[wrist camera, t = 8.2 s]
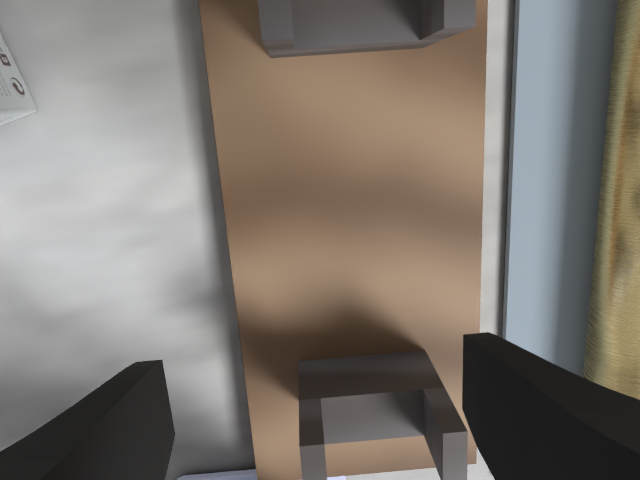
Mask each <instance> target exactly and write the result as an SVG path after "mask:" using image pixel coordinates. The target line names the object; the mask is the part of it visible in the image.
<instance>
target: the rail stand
mask: <svg viewBox="0 0 640 480" xmlns="http://www.w3.org/2000/svg"><path fill="white" fill-rule="evenodd" d="M198 2H199V10H200V18H201V26H202V34H203V43H204V51H205V59H206V67H207V75H208V83H209V91H210V99H211V107H212V115H213V124H214V132H215V140H216V148H217V156H218V164H219V172H220V180H221V188H222V197H223V205H224V213H225V221H226V229H227V237H228V245H229V253H230V261H231V269H232V278H233V286H234V294H235V302H236V310H237V318H238V326H239V334H240V342H241V351H242V359H243V367H244V375H245V383H246V391H247V399H248V407H249V415H250V424H251V432H252V440H253V448H254V456H255V464H256V472H257V480H327V477H337V476H348V475H358V474H369V473H380V472H391V471H402V470H413V469H424V468H434V467H436V468H437V471H438V474H439V476H440V479H441V480H467V464H476V450H477V446H476V443H475V441H474V438H473V436H472V433H471V431H470V428H469V426H468V423H467V420H466V418H465V415H464V412H463V410H462V379H463V334H475V333H479V329H480V288H481V248H482V208H483V167H484V127H485V87H486V47H487V6H488V0H198Z"/></svg>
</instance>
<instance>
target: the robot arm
mask: <svg viewBox="0 0 640 480" xmlns="http://www.w3.org/2000/svg"><path fill="white" fill-rule="evenodd" d="M462 410H463V412H464V415H465V418H466V420H467V423H468V426H469V428H470V431H471V433H472V436H473V438H474V441H475V443H476V446H477V447H478V449H479V451H480V453H481V455H482V457H483V459H484V460H485V462H486V464H487V466H488V468H489V470H490V471H491V473H492V475H493V477H494V479H495V480H640V400H639V399H636V398H633V397H630V396H627V395H625V394H622V393H619V392H617V391H614V390H611V389H609V388H606V387H604V386H601V385H599V384H597V383H595V382H592V381H590V380H588V379H585V378H583V377H581V376H579V375H576V374H574V373H572V372H570V371H568V370H565V369H563V368H561V367H559V366H557V365H555V364H553V363H551V362H549V361H547V360H545V359H543V358H541V357H539V356H537V355H535V354H533V353H531V352H529V351H527V350H525V349H523V348H521V347H519V346H517V345H515V344H513V343H511V342H509V341H507V340H505V339H503V338H501V337H499V336H496V335H494V334H491V333H489V332H487V333H475V334H463V379H462ZM174 436H175V431H174V426H173V420H172V414H171V408H170V403H169V397H168V391H167V385H166V380H165V374H164V368H163V362H162V360H155V361H143V362H135V363H134V364H132V365H130V366H129V367H127V368H125V369H124V370H122V371H121V372H120V373H118V374H117V375H115V376H114V377H112V378H111V379H110V380H108V381H107V382H105V383H104V384H103V385H101V386H100V387H99V388H97V389H96V390H94V391H93V392H92V393H90V394H89V395H87V396H86V397H85V398H83V399H82V400H80V401H79V402H78V403H76V404H75V405H73V406H72V407H71V408H69V409H67V410H66V411H64V412H63V413H61V414H60V415H58V416H57V417H55V418H54V419H52V420H51V421H49V422H48V423H46V424H45V425H43V426H42V427H40V428H39V429H37V430H36V431H34V432H33V433H31V434H29V435H28V436H26V437H25V438H23V439H21V440H20V441H18V442H16V443H15V444H13V445H11V446H9V447H8V448H6V449H4V450H2V451H0V480H164V478H165V476H166V472H167V468H168V464H169V460H170V455H171V451H172V446H173V441H174ZM177 480H257V472H256V469H250V470H239V471H228V472H217V473H206V474H195V475H185V476H181V477H179V478H178V479H177ZM327 480H345V476H337V477H327Z"/></svg>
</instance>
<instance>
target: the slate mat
mask: <svg viewBox="0 0 640 480" xmlns="http://www.w3.org/2000/svg"><path fill="white" fill-rule="evenodd" d="M616 11H617V0H515V20H514V45H513V71H512V97H511V122H510V148H509V174H508V199H507V225H506V251H505V277H504V302H503V328H502V338H503V339H505V340H507V341H509V342H511V343H513V344H515V345H517V346H519V347H521V348H523V349H525V350H527V351H529V352H531V353H533V354H535V355H537V356H539V357H541V358H543V359H545V360H547V361H549V362H551V363H553V364H555V365H557V366H559V367H561V368H563V369H565V370H568V371H570V372H572V373H574V374H576V375H579V376H581V377H583V369H584V358H585V348H586V337H587V326H588V315H589V304H590V293H591V282H592V272H593V261H594V250H595V239H596V228H597V217H598V206H599V196H600V185H601V174H602V163H603V152H604V141H605V131H606V120H607V109H608V98H609V87H610V76H611V65H612V55H613V44H614V33H615V22H616Z"/></svg>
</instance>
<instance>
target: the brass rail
mask: <svg viewBox="0 0 640 480" xmlns="http://www.w3.org/2000/svg"><path fill="white" fill-rule="evenodd" d="M583 378H585V379H588V380H590V381H592V382H595V383H597V384H599V385H601V386H604V387H606V388H609V389H611V390H614V391H617V392H619V393H622V394H625V395H627V396H630V397H633V398H636V399H639V400H640V0H617V11H616V22H615V33H614V44H613V55H612V65H611V76H610V87H609V98H608V109H607V120H606V131H605V141H604V152H603V163H602V174H601V185H600V196H599V206H598V217H597V228H596V239H595V250H594V261H593V272H592V282H591V293H590V304H589V315H588V326H587V337H586V348H585V358H584V369H583Z"/></svg>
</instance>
